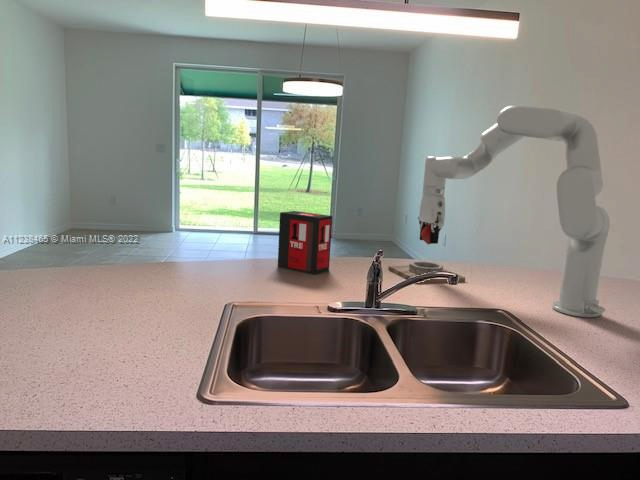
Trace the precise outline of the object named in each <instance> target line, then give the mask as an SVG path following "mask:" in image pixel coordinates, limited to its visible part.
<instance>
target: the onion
mask: <svg viewBox="0 0 640 480" xmlns="http://www.w3.org/2000/svg"><path fill="white" fill-rule="evenodd" d="M435 227H436V226H434V228H435ZM430 232H432V230H431V224H428V225H427V226H425V227H424V228H423V230H422V232H421V237H422V239H423V240H422V241H423V242H425V243H426V245H431V243H429V242H430Z"/></svg>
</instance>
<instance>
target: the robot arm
mask: <svg viewBox="0 0 640 480" xmlns="http://www.w3.org/2000/svg"><path fill="white" fill-rule="evenodd" d="M596 131H597V130H596V128H595V127H594V125H593V124H592V122H590V120H588V119H587V118H586V117H583V116H582V115H581V116H580V115H578V114H575V113H571V112H567V111H563V110H561V109H556V108H547V107H535V106H525V105H516V104H515V105H514V104H511V105H508V106H506V107H504V108H503V109H501V111H499V113H498V115H497V117H496V123H495V124H494V125H492V126H491V127H490V128H488V129H487V130H485V131H483V132H482V133H481V136H480V144H479V145H478V146H476V148H475V149H473V151H471V152H469V153H468V154H467V155H465V156H435V155H434V156H433V155H431V156H430V155H429V156H427V157H426V159H425V162H424V164H425V165H424V175H423V185H422V194H421V195H422V196H421V201H420V206H419V214H418V215H419V216H418V217H417V220H418V224H419V229H420V231H419V240H420V241H424V240H423V239H422V237H421V232H422V230H423V228H424V227H425V226H427V225H428V224H431V230H432V232H430V242H429V243H431V244H435V245H436V244H439V235H440V233H441V230H442V228H443V227H444V226H445V217H446V198H445V189H446V179H449V180H467V179H469V178H471V177H473V176H475V175H476V174H478V173H479V172H480V171H482V170H484V169H485V168H487V167H488V166H489V165H490V164H491V163H492V162H493V161H494V160H495V159H496V158H497V156H498V155H499V154H501V153H502V152H504V151H505V150H507V149H508V148H509V147H511V146H513V145H515V143H518V142H519V141H521V140H522V139H524V138H525V137H526V138H534V139H541V140H548V141H556V142H563V143H564V144H565V163H566V169H564V170H563V171H562V172H561V173H560V175H559V177H558V179H557V181H556V197H557V199H556V200H557V207H558V217H559V224H560V228H561V230H562V232H563V233H564V235H565V236H566V237H567V238H568V240H567V241H568V242H567V245H566V251H565V257H564V264H563V271H562V278H561V285H560V292H559V298H558V301H555V302H552V309H554V310H555V311H557V312H559V313H562V314H565V315H569V316H573V317H578V318H579V317H581V318H597V317H599V316H601V315H603V313H605V311H606V308H605V307H603V306H600V305H599V303H600V300H599V299H597V295H598V289H599V282H600V277H601V270H602V263H603V259H604V258H603V257H604V252H605V246H606V242H607V239H608V235H609V230H610V226H611V224H610V223H611V222H610V221H611V220H610V216H609V214H608V213H607V211H606V210H605V209H604V207H602V206H600V205H597V203H596V197H597V196H599V195H600V193H601V192H602V190H603V186H604V185H603V183H604V182H603V174H602V167H601V166H602V165H601V159H600V158H601V157H600V151H599V150H600V149H599V143H598V135H597V132H596ZM434 227H435V228H434ZM431 244H430V245H431Z"/></svg>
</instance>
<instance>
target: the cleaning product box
mask: <svg viewBox="0 0 640 480" xmlns="http://www.w3.org/2000/svg"><path fill="white" fill-rule="evenodd" d="M332 224H333V215H329V214H320V213H313V212H305V211H296V210H291V211H283V212H279V228H278V229H279V230H278V253H277V268H281V269H285V270H291V271H296V272H300V273H305V274H308V275H314V276H316V275H319V274H323V273H326V272H329V271H330V262H331V261H330V260H331V259H330V257H331V243H332V227H333V225H332Z"/></svg>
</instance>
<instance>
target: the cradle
mask: <svg viewBox="0 0 640 480" xmlns="http://www.w3.org/2000/svg"><path fill="white" fill-rule="evenodd" d="M387 270H388V271H390V272H391V273H394V274H396V275H398V276H400V277H401V278H404V279H406V280H407V278H410V277H413V276H417V275H421V274H424V273H428V272H433V271H450V270H448V269H445V268H444V265H442V264H440V263H437V262H430V261H422V260H421V261H420V260H419V261H418V260H417V261H411V262H410V263H409V265H408V264H407V265H388V268H387ZM450 272H452V271H450ZM458 275H459V282H458V283H462V282H463V283H465V282H466V277H465V276H463V275H460V274H458ZM436 283H437V284H440V283H448V282H447V279H430V280H426V281H424V282H420V283H419V284H436ZM416 284H418V283H416Z"/></svg>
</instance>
